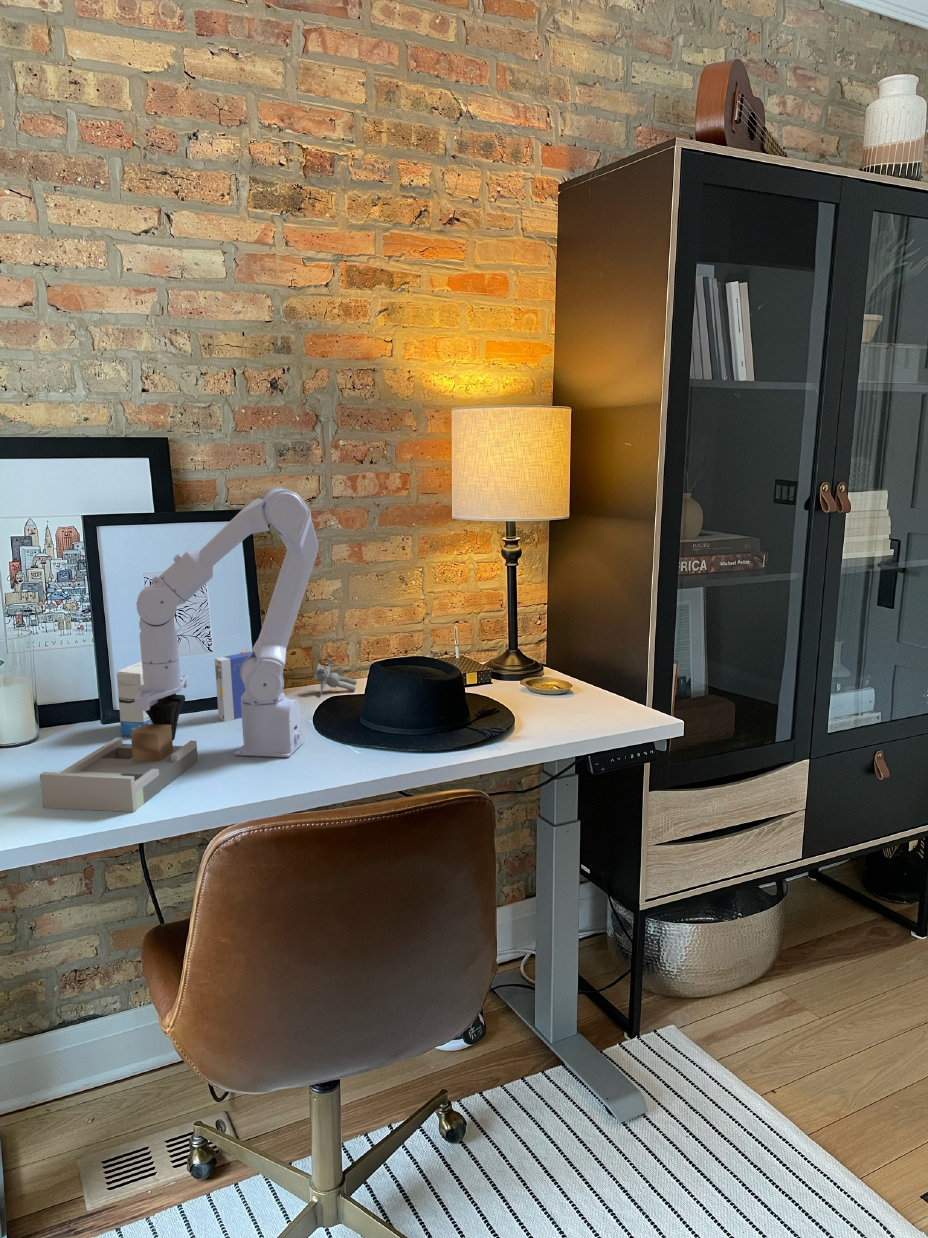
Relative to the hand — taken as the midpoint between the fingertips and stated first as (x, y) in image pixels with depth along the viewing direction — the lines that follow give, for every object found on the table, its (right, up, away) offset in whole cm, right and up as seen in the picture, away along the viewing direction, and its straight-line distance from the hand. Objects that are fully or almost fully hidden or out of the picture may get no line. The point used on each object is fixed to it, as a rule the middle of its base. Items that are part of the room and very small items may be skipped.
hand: (166, 740), depth 151 cm
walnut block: (-1, -2, -4) cm, 5 cm away
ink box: (-9, 0, +17) cm, 20 cm away
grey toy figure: (+22, +5, +41) cm, 47 cm away
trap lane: (-3, -5, -9) cm, 11 cm away
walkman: (+6, +1, +25) cm, 26 cm away
